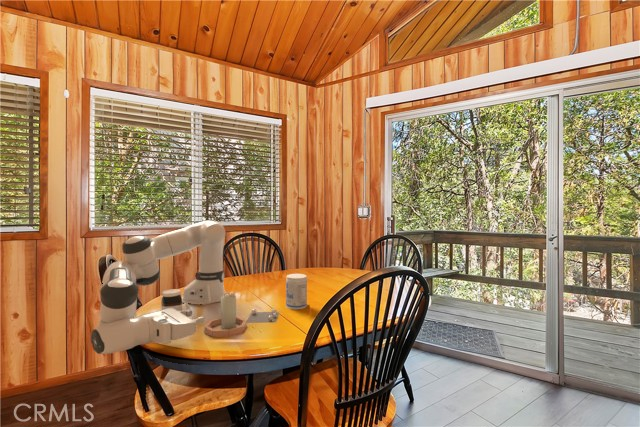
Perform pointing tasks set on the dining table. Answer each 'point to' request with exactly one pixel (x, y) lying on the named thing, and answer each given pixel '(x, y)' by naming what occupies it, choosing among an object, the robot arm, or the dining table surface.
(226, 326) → the pebble cup
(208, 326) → the bowl
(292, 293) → the supplement tub
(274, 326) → the dining table surface
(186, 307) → the spread jar
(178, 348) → the dining table surface
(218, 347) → the dining table surface
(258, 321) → the parts board
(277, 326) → the dining table surface
